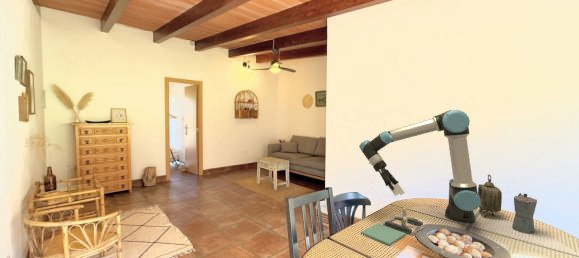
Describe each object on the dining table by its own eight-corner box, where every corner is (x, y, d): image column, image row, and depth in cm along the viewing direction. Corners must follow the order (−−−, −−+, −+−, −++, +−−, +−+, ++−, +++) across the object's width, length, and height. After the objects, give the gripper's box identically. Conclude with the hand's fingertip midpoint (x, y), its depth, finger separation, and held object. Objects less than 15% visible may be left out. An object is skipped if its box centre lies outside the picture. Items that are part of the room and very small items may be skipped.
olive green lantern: (477, 209, 166) (478, 171, 165) (494, 212, 162) (496, 172, 161) (481, 218, 154) (483, 176, 152) (501, 220, 149) (503, 178, 148)
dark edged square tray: (398, 216, 157) (399, 212, 157) (427, 225, 144) (427, 221, 144) (382, 225, 145) (382, 220, 145) (412, 235, 132) (412, 231, 132)
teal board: (377, 225, 145) (377, 223, 145) (405, 235, 133) (405, 233, 133) (360, 234, 135) (360, 231, 135) (389, 246, 122) (389, 243, 122)
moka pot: (518, 234, 133) (520, 196, 132) (505, 222, 147) (506, 188, 146) (541, 237, 130) (544, 198, 128) (526, 224, 144) (528, 189, 143)
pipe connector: (416, 231, 138) (416, 212, 137) (396, 229, 140) (396, 211, 139) (411, 223, 148) (411, 205, 147) (392, 221, 150) (393, 204, 149)
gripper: (378, 167, 167) (399, 196, 157) (366, 165, 147) (389, 198, 137) (388, 161, 165) (410, 190, 155) (376, 158, 144) (401, 191, 135)
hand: (400, 194), depth 146 cm, fingers open, 13 cm apart
